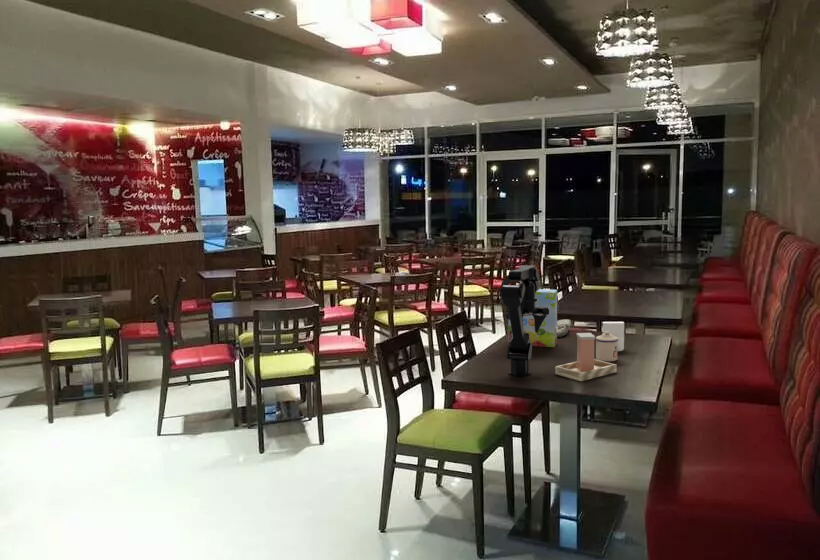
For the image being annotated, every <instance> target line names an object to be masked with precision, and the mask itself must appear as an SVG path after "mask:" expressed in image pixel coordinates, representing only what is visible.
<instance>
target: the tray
mask: <svg viewBox="0 0 820 560" xmlns="http://www.w3.org/2000/svg"><path fill="white" fill-rule="evenodd" d="M617 365H618V364H617V363H616V364H615V363H611V362H609V361H600V360H597V359H596V358H594V369H593V370H589V371H585V372H580V371H579V370H578V369H577V360H576V361H572V362H568V363H565V364H560V365H556V366H555V369H554V370H555V371H554V372H555V375H558V376H561V377H565V378H568V379H571V380H575V381H579V382H584V381H587V380H591V379H595V378H598V377H602V376H603V377H604V376H607V375H611V374H614V373H617V371H618V370H617Z"/></svg>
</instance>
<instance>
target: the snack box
mask: <svg viewBox="0 0 820 560" xmlns="http://www.w3.org/2000/svg"><path fill="white" fill-rule="evenodd" d="M535 299H537V301H536V302H535V307H538V306H542V307H547V308H548V309H549V315H547V317H545V319H544V321H543V322H542V324H541V326H540V328H539V330H538V332H535V320H534V317H533V315H527V316H523V318H522V320H523V327H524V333H528V334H529V336H530V342H531V343H532V347H541V348H542V347H545V348H555V347H556V345H557V339H558V337H557V321H558V289H550V288H549V289H545V288H544V289H543V288H540V289H539V290H538V291H537V292H535ZM530 313H531V312H530ZM525 314H526V313H525ZM507 320H508V326H507V327H508V330H507V331H508V335H507V337H508V340H507V341H508V343H507V345H509V343H510V341H511V338H512V336H513V335H512V329H511V323H510V320H509V319H507Z"/></svg>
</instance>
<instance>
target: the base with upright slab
mask: <svg viewBox="0 0 820 560" xmlns="http://www.w3.org/2000/svg"><path fill="white" fill-rule="evenodd" d="M605 332H609V334H611V335H613V336H615V337H617V338H618V352H622V351H624V350H625V322H624V321H603V322H602V334H605Z"/></svg>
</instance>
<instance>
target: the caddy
mask: <svg viewBox="0 0 820 560" xmlns="http://www.w3.org/2000/svg"><path fill="white" fill-rule="evenodd" d="M575 336H576V337H577V338H576V340H577V341H576V343H577V345H576V361H577V369H578V370H579V371H580V372H585V371H589V370H593V369H594V359H595V340H596V335H594V334H592V332H576V334H575Z"/></svg>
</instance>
